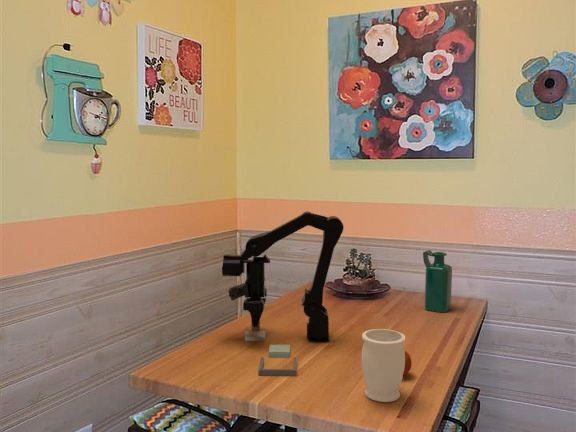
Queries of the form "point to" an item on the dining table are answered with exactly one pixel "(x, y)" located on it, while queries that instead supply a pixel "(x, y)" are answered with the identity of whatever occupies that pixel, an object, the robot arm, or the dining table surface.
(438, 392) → the dining table surface
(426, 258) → the pitcher
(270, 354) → the tile
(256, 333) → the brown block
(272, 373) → the frame
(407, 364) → the fruit
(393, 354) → the jar
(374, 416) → the dining table surface
